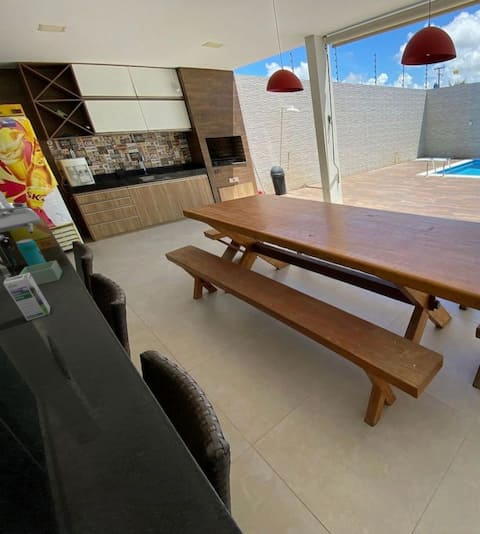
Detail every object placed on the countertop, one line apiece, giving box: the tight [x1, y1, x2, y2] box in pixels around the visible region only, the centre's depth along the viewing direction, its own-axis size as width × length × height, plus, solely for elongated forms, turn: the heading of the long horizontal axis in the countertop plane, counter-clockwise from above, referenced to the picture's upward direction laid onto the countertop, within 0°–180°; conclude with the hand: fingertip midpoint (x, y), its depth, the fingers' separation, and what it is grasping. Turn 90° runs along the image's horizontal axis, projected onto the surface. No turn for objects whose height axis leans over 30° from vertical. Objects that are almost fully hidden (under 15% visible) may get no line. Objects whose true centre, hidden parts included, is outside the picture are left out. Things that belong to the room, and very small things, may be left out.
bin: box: [18, 260, 63, 286], centre depth 130 cm, size 10×10×6 cm
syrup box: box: [3, 273, 51, 322], centre depth 102 cm, size 6×6×14 cm
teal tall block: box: [15, 238, 48, 266], centre depth 136 cm, size 6×6×15 cm
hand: (18, 235), depth 137 cm, fingers open, 8 cm apart
